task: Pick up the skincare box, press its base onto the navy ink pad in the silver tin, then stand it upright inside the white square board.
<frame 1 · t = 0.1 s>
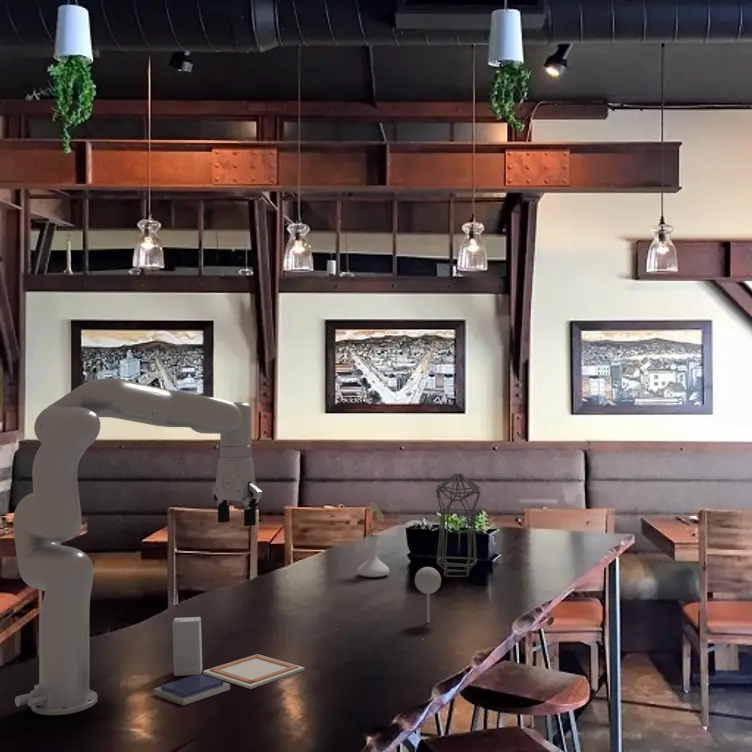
hand: (236, 523, 207), 31 cm above the table, fingers open, 9 cm apart
lollipop: (428, 623, 233), on the table
white square board: (254, 671, 192), on the table
flower in vase: (373, 576, 295), on the table
ink pad: (192, 692, 179), on the table
geometric lantern: (459, 574, 296), on the table
skincare box: (187, 674, 192), on the table
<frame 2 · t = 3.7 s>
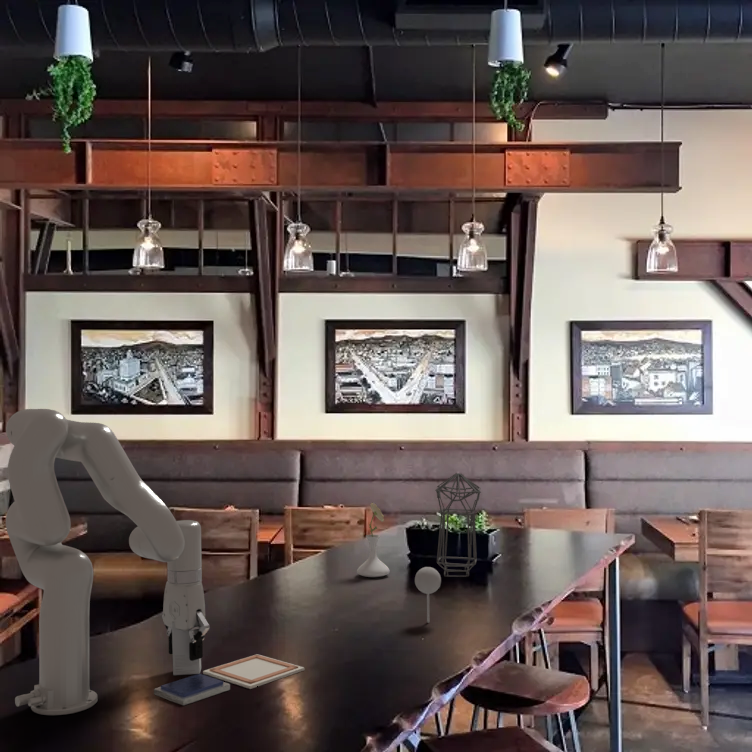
hand: (185, 655, 192), 4 cm above the table, fingers closed on skincare box, 6 cm apart
skincare box: (186, 673, 192), on the table, touching gripper
everything else where it was.
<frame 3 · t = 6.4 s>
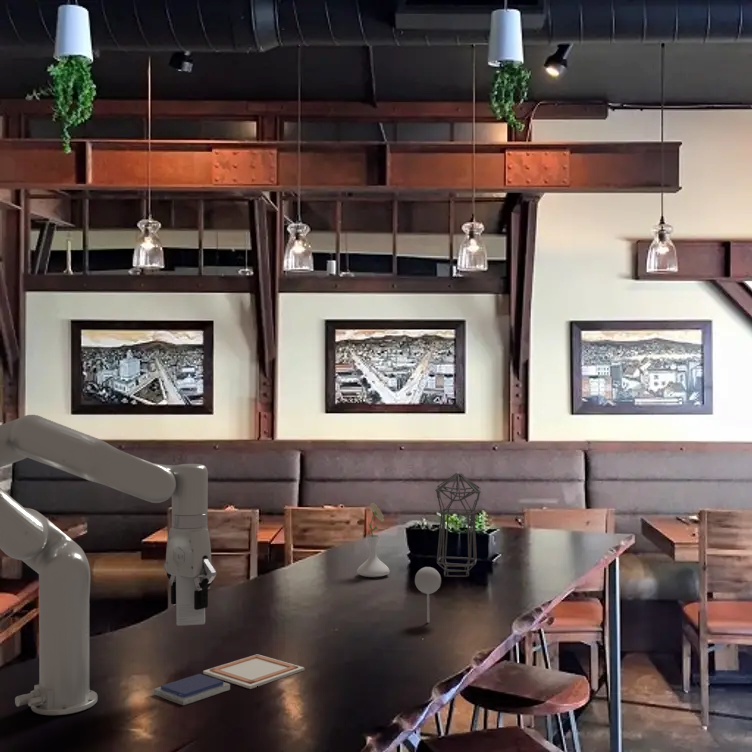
hand: (189, 605, 183), 17 cm above the table, fingers closed on skincare box, 6 cm apart
skincare box: (190, 624, 183), point 13 cm above the table, touching gripper
everything else where it was.
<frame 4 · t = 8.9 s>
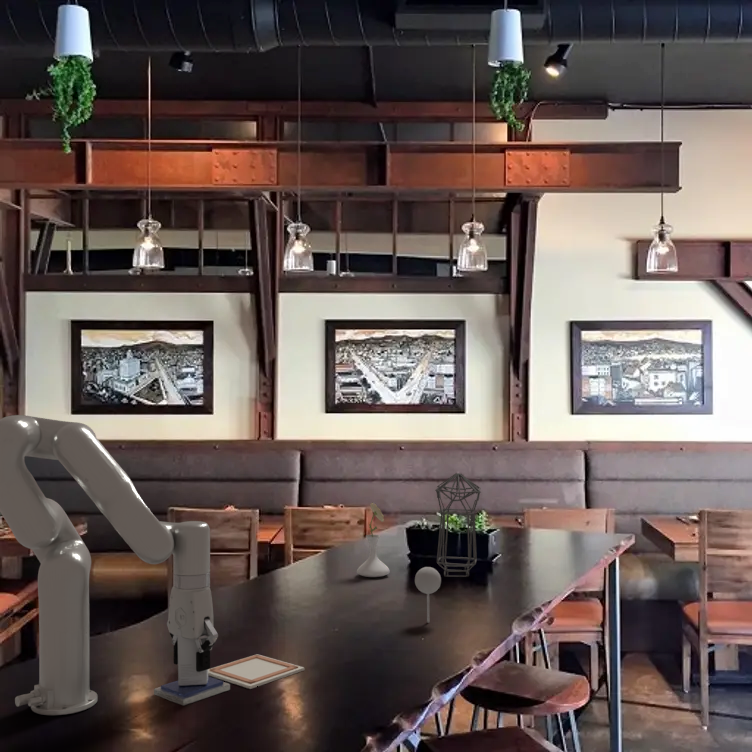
hand: (191, 665, 179), 5 cm above the table, fingers closed on skincare box, 7 cm apart
skincare box: (192, 683, 180), point 2 cm above the table, touching gripper
everything else where it was.
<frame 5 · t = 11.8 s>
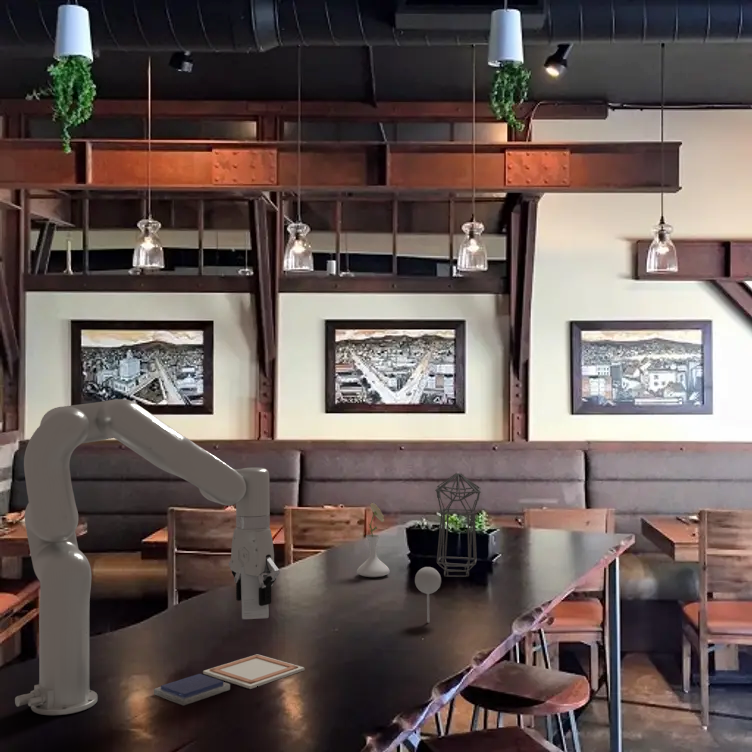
hand: (253, 601, 193), 16 cm above the table, fingers closed on skincare box, 6 cm apart
skincare box: (254, 618, 193), point 12 cm above the table, touching gripper
everything else where it was.
when the fingers open (6 cm above the table, at t = 14.0 s): skincare box drops 1 cm, resting on white square board.
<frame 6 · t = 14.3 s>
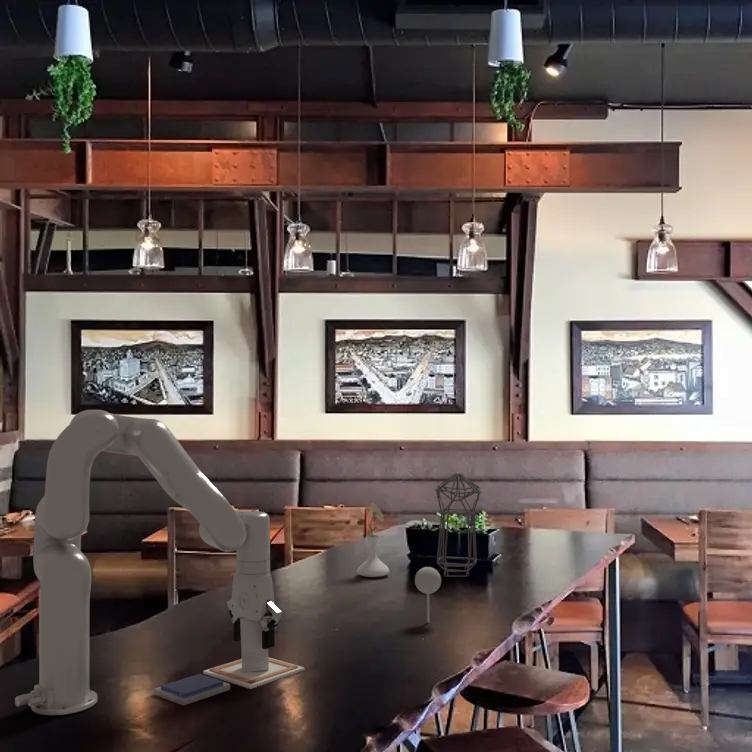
hand: (253, 643, 192), 6 cm above the table, fingers open, 9 cm apart
skincare box: (254, 670, 192), resting on white square board
everything else where it was.
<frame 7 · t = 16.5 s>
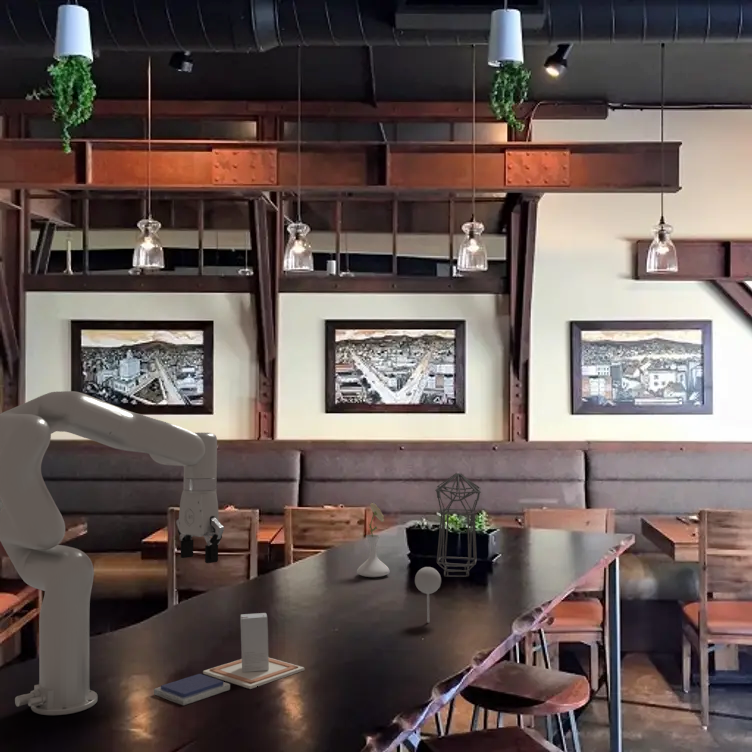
hand: (199, 559, 198), 24 cm above the table, fingers open, 9 cm apart
nothing on the table moved.
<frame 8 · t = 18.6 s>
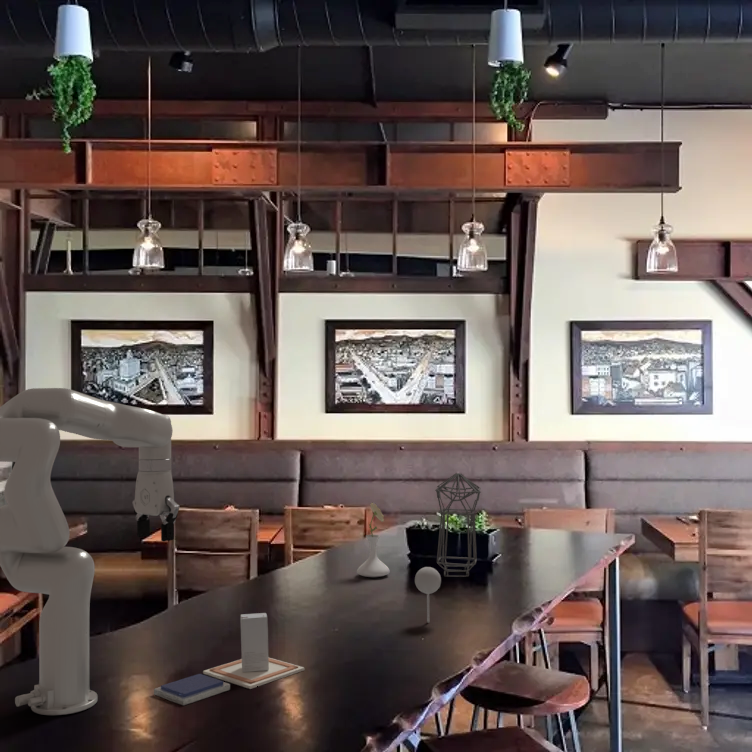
hand: (155, 538, 204), 28 cm above the table, fingers open, 9 cm apart
nothing on the table moved.
at the end: skincare box inside the target area on the white square board (0.2 cm from its centre), point 0.4 cm above the white square board's base; skincare box tilted 0°; the gripper is holding nothing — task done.
